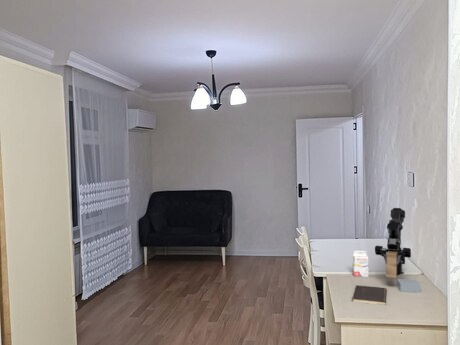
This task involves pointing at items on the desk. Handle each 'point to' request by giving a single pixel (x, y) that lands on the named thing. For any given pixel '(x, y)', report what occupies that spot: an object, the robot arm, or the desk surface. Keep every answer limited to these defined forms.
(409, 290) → the slate plinth
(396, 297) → the desk surface
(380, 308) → the desk surface
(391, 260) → the walnut post
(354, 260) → the ink cartridge box
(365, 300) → the hardcover book
